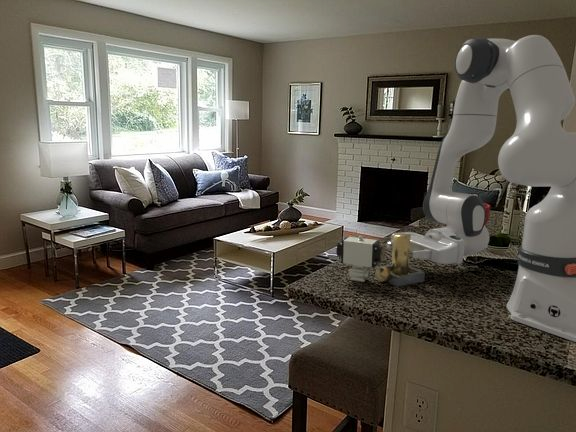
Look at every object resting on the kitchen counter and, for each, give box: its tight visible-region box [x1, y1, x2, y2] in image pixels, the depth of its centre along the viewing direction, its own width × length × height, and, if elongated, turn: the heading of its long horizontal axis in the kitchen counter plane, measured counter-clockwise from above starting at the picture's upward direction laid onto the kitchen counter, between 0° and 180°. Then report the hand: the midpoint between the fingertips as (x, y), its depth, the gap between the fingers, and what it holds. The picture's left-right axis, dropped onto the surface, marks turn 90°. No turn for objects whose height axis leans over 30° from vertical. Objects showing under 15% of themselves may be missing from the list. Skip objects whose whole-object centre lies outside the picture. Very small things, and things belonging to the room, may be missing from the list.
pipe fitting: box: [391, 232, 411, 276], centre depth 118 cm, size 5×5×12 cm
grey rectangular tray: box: [375, 264, 426, 287], centre depth 118 cm, size 9×11×4 cm
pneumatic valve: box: [335, 235, 386, 283], centre depth 117 cm, size 6×12×12 cm, turn 63°
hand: (399, 250), depth 117 cm, fingers open, 8 cm apart
